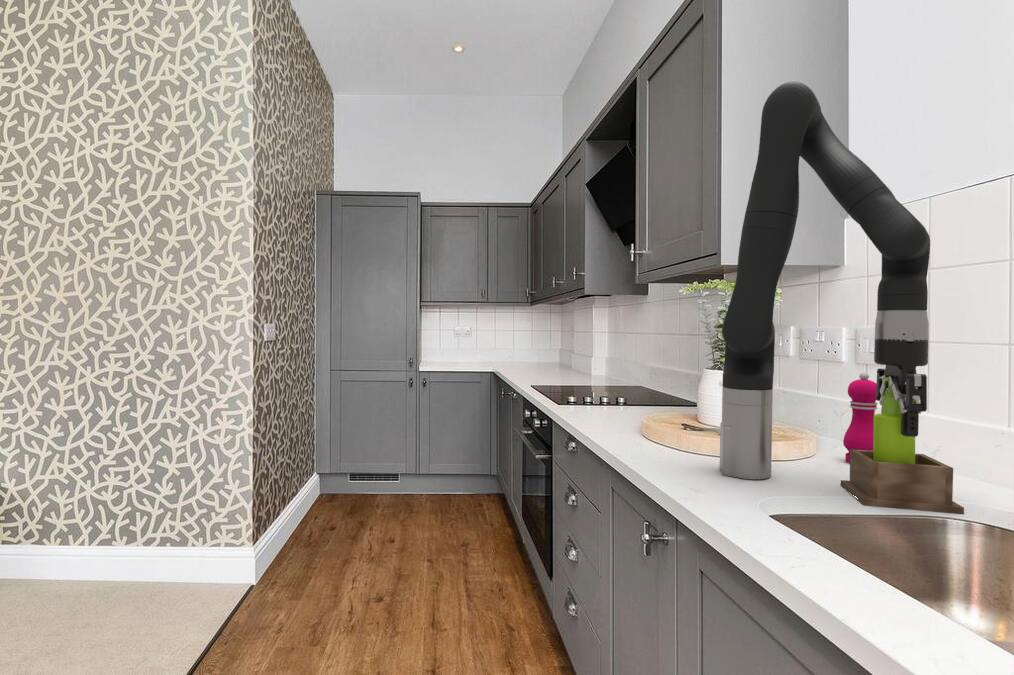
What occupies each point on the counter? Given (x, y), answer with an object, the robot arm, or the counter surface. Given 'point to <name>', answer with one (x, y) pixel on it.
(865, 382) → the pepper mill
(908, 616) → the counter surface
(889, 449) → the soap dispenser
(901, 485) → the box
